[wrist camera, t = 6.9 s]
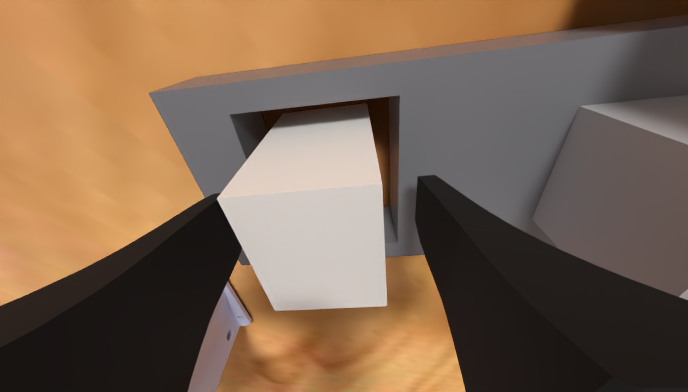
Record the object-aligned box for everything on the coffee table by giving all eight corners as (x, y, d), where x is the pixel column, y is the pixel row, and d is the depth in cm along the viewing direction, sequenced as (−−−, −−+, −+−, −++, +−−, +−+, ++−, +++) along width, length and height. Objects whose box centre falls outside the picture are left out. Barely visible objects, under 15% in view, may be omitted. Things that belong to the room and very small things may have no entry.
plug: (372, 192, 14) (387, 306, 8) (305, 198, 14) (274, 310, 9) (366, 103, 11) (382, 183, 6) (283, 113, 12) (216, 198, 6)
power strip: (627, 202, 14) (868, 357, 7) (258, 228, 16) (193, 370, 9) (761, 4, 9) (1905, -52, 2) (194, 77, 11) (-48, 158, 4)
